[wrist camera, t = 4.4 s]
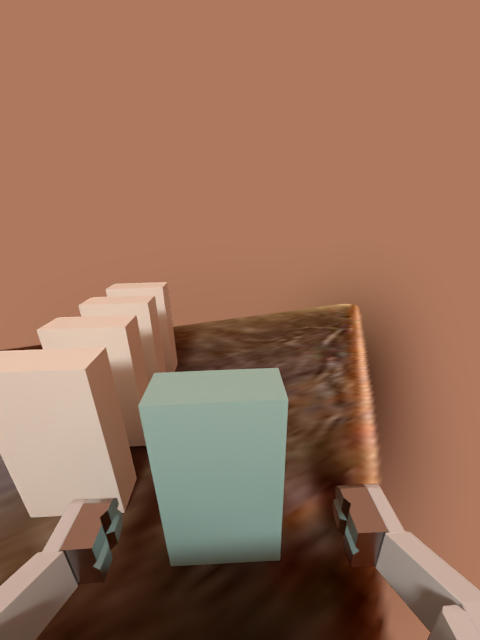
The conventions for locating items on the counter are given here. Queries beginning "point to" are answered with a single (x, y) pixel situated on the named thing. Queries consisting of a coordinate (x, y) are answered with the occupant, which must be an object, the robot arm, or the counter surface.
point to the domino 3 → (63, 429)
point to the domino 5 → (218, 462)
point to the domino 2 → (122, 354)
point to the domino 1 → (146, 322)
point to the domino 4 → (162, 309)
